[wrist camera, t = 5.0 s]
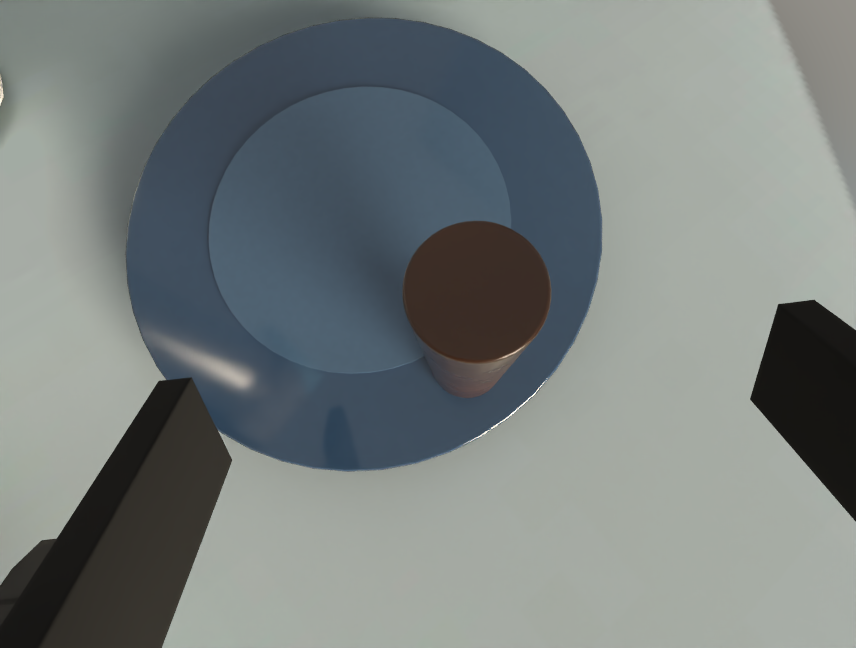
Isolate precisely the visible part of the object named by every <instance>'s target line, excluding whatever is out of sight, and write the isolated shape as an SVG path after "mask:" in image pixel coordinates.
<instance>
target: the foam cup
mask: <svg viewBox="0 0 856 648" xmlns="http://www.w3.org/2000/svg"><path fill="white" fill-rule="evenodd" d="M3 97H4V96H3V88H2V80H1V75H0V105H1V102H2V99H3Z"/></svg>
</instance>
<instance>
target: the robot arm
mask: <svg viewBox="0 0 856 648" xmlns="http://www.w3.org/2000/svg"><path fill="white" fill-rule="evenodd" d="M750 400H751V401H752V402H753V403H754V404H755V405H756V407H757V408H758V409H759V410H760V411H761V412H762V413H763V415H764V416H765V417H766V418H767V419H768V420H769V422H770V423H771V424H772V425H773V426H774V427H775V429H776V430H777V431H778V432H779V433H780V434H781V435H782V437H783V438H784V439H785V440H786V441H787V442H788V444H789V445H790V446H791V447H792V448H793V449H794V451H795V452H796V453H797V454H798V455H799V456H800V457H801V459H802V460H803V461H804V462H805V463H806V464H807V466H808V467H809V468H810V469H811V470H812V471H813V473H814V474H815V475H816V476H817V477H818V478H819V479H820V481H821V482H822V483H823V484H824V485H825V486H826V488H827V489H828V490H829V491H830V492H831V493H832V495H833V496H834V497H835V498H836V499H837V500H838V501H839V503H840V504H841V505H842V506H843V507H844V508H845V510H846V511H847V512H848V513H849V514H850V515H851V517H852V518H853V519H854V520H855V521H856V330H855V329H853V328H852V327H851V326H849V325H848V324H846V323H845V322H844V321H842V320H841V319H840V318H838V317H837V316H836V315H834V314H833V313H831V312H830V311H829V310H827V309H826V308H825V307H823V306H822V305H821V304H819V303H818V302H816V301H815V300H809V301H801V302H793V303H785V304H778V307H777V311H776V314H775V317H774V321H773V324H772V328H771V331H770V334H769V338H768V341H767V344H766V348H765V351H764V354H763V358H762V361H761V364H760V368H759V371H758V375H757V378H756V381H755V385H754V388H753V391H752V395H751V398H750ZM231 462H232V459H231V457H230V455H229V453H228V451H227V449H226V446H225V444H224V442H223V440H222V438H221V436H220V434H219V432H218V430H217V428H216V426H215V424H214V422H213V420H212V418H211V416H210V414H209V412H208V410H207V408H206V406H205V404H204V402H203V400H202V398H201V395H200V393H199V391H198V389H197V387H196V385H195V383H194V381H193V379H192V377H189V378H181V379H172V380H164V381H159V382H158V383H157V385H156V386H155V388H154V389H153V391H152V392H151V394H150V395H149V397H148V399H147V400H146V402H145V403H144V405H143V406H142V408H141V409H140V411H139V413H138V414H137V416H136V417H135V419H134V420H133V422H132V423H131V425H130V426H129V428H128V430H127V431H126V433H125V434H124V436H123V437H122V439H121V440H120V442H119V443H118V445H117V447H116V448H115V450H114V451H113V453H112V454H111V456H110V457H109V459H108V460H107V462H106V464H105V465H104V467H103V468H102V470H101V471H100V473H99V474H98V476H97V477H96V479H95V481H94V482H93V484H92V485H91V487H90V488H89V490H88V491H87V493H86V494H85V496H84V498H83V499H82V501H81V502H80V504H79V505H78V507H77V508H76V510H75V511H74V513H73V515H72V516H71V518H70V519H69V521H68V522H67V524H66V525H65V527H64V529H63V530H62V532H61V533H60V535H59V536H58V538H57V539H50V540H42V541H41V542H40V543H39V544H38V545H36V546H35V547H34V548H33V549H32V550H31V551H30V552H29V553H28V554H27V555H26V556H25V557H24V558H23V559H22V560H21V561H20V562H19V563H18V564H17V565H16V566H14V567H13V568H12V570H11V571H10V572H9V574H8V575H7V577H6V578H5V580H4V581H3V583H2V584H1V585H0V648H162V645H163V643H164V640H165V637H166V635H167V632H168V629H169V627H170V624H171V621H172V619H173V616H174V613H175V611H176V608H177V606H178V603H179V600H180V598H181V595H182V592H183V590H184V587H185V584H186V582H187V579H188V576H189V574H190V571H191V568H192V566H193V563H194V560H195V558H196V555H197V552H198V550H199V547H200V544H201V542H202V539H203V536H204V534H205V531H206V528H207V526H208V523H209V520H210V518H211V515H212V512H213V510H214V507H215V504H216V502H217V499H218V497H219V494H220V491H221V489H222V486H223V483H224V481H225V478H226V475H227V473H228V470H229V467H230V465H231Z"/></svg>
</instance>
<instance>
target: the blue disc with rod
mask: <svg viewBox="0 0 856 648" xmlns="http://www.w3.org/2000/svg"><path fill="white" fill-rule="evenodd" d="M601 253H602V215H601V208H600V200H599V193H598V188H597V184H596V181H595V177H594V174H593V170H592V167H591V163H590V160H589V158H588V156H587V153H586V151H585V149H584V147H583V144H582V142H581V140H580V138H579V135H578V134H577V132H576V130H575V129H574V127H573V125H572V124H571V122H570V121H569V119H568V117H567V116H566V114H565V112H564V111H563V109H562V108H561V107H560V106H559V105H558V103H557V102H556V101H555V100H554V98H553V97H552V96H551V95H550V94H549V92H548V91H547V90H546V89H545V88H544V87H543V86H542V85H541V84H540V83H539V82H538V81H537V80H536V79H535V78H534V77H532V76H531V75H530V74H529V73H528V72H527V71H526V70H525V69H524V68H522V67H521V66H520V65H518V64H517V63H515V62H514V61H513V60H511V59H510V58H508V57H507V56H506V55H504V54H503V53H501V52H499V51H498V50H496V49H494V48H492V47H490V46H488V45H486V44H485V43H483V42H481V41H479V40H477V39H475V38H472V37H470V36H467V35H465V34H462V33H459V32H457V31H454V30H452V29H448V28H445V27H441V26H437V25H433V24H429V23H425V22H420V21H412V20H405V19H398V18H357V19H346V20H337V21H333V22H328V23H323V24H318V25H313V26H309V27H306V28H303V29H300V30H297V31H294V32H291V33H288V34H285V35H282V36H280V37H278V38H276V39H273V40H271V41H269V42H267V43H265V44H262V45H260V46H258V47H256V48H255V49H253V50H251V51H249V52H248V53H246V54H244V55H243V56H241V57H239V58H238V59H236V60H234V61H233V62H231V63H230V64H229V65H227V66H226V67H225V68H223V69H222V70H221V71H220V72H218V73H217V74H216V75H214V76H213V77H212V78H210V79H209V80H208V81H207V82H206V83H205V84H204V85H203V86H202V87H201V88H200V89H199V90H198V91H197V92H196V93H195V94H193V95H192V96H191V97H190V98H189V100H188V101H187V102H186V103H185V104H184V106H183V107H182V108H181V109H180V110H179V112H178V113H177V114H176V115H175V116H174V117H173V119H172V120H171V121H170V123H169V124H168V126H167V128H166V129H165V131H164V132H163V134H162V135H161V137H160V138H159V140H158V141H157V143H156V145H155V147H154V149H153V151H152V153H151V155H150V157H149V159H148V161H147V163H146V165H145V167H144V169H143V171H142V174H141V177H140V180H139V183H138V186H137V189H136V192H135V195H134V198H133V202H132V207H131V212H130V217H129V222H128V229H127V242H126V269H127V284H128V289H129V294H130V299H131V304H132V309H133V313H134V316H135V319H136V321H137V324H138V327H139V330H140V333H141V336H142V338H143V341H144V343H145V345H146V347H147V348H148V350H149V352H150V354H151V356H152V358H153V360H154V362H155V364H156V366H157V367H158V369H159V370H160V371H161V373H162V374H163V376H164V377H165V378H166V380H172V379H181V378H189V377H192V379H193V381H194V383H195V385H196V387H197V389H198V391H199V393H200V395H201V398H202V400H203V402H204V404H205V406H206V408H207V410H208V412H209V414H210V416H211V418H212V420H213V422H214V424H215V426H216V428H217V430H218V431H220V432H221V433H222V434H224V435H226V436H227V437H229V438H231V439H233V440H235V441H236V442H238V443H240V444H242V445H244V446H245V447H247V448H249V449H251V450H253V451H256V452H259V453H261V454H264V455H266V456H269V457H272V458H274V459H277V460H279V461H283V462H287V463H291V464H296V465H300V466H304V467H309V468H313V469H323V470H335V471H346V472H351V471H370V470H384V469H390V468H395V467H400V466H405V465H411V464H416V463H419V462H422V461H425V460H428V459H431V458H434V457H437V456H440V455H443V454H446V453H449V452H451V451H453V450H455V449H457V448H459V447H461V446H463V445H465V444H467V443H469V442H472V441H474V440H476V439H478V438H480V437H481V436H483V435H484V434H486V433H487V432H489V431H490V430H492V429H493V428H495V427H496V426H498V425H499V424H501V423H502V422H504V421H505V420H507V419H508V418H509V417H511V416H512V415H513V414H514V413H515V412H516V411H517V410H518V409H520V408H521V407H522V406H523V405H524V404H525V403H526V402H527V401H529V400H530V399H531V398H532V397H533V396H534V395H535V394H536V393H537V392H538V391H539V389H540V388H541V387H542V386H543V385H544V384H545V382H546V381H547V380H548V379H549V378H550V377H551V375H552V374H553V373H554V372H555V371H556V370H557V368H558V366H559V365H560V363H561V362H562V360H563V359H564V357H565V356H566V354H567V352H568V351H569V349H570V348H571V346H572V345H573V343H574V341H575V339H576V337H577V335H578V333H579V331H580V328H581V326H582V324H583V322H584V320H585V318H586V315H587V313H588V311H589V307H590V304H591V301H592V297H593V294H594V291H595V287H596V284H597V280H598V273H599V267H600V260H601Z"/></svg>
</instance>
